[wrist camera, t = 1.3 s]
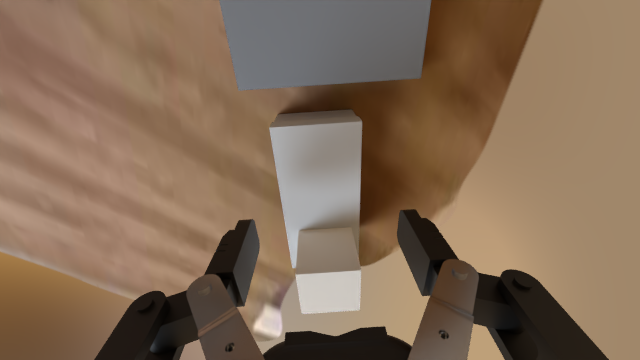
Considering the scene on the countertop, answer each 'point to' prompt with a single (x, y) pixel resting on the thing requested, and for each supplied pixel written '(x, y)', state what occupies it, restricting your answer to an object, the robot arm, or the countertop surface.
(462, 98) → the countertop surface
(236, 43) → the dock
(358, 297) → the block
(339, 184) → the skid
